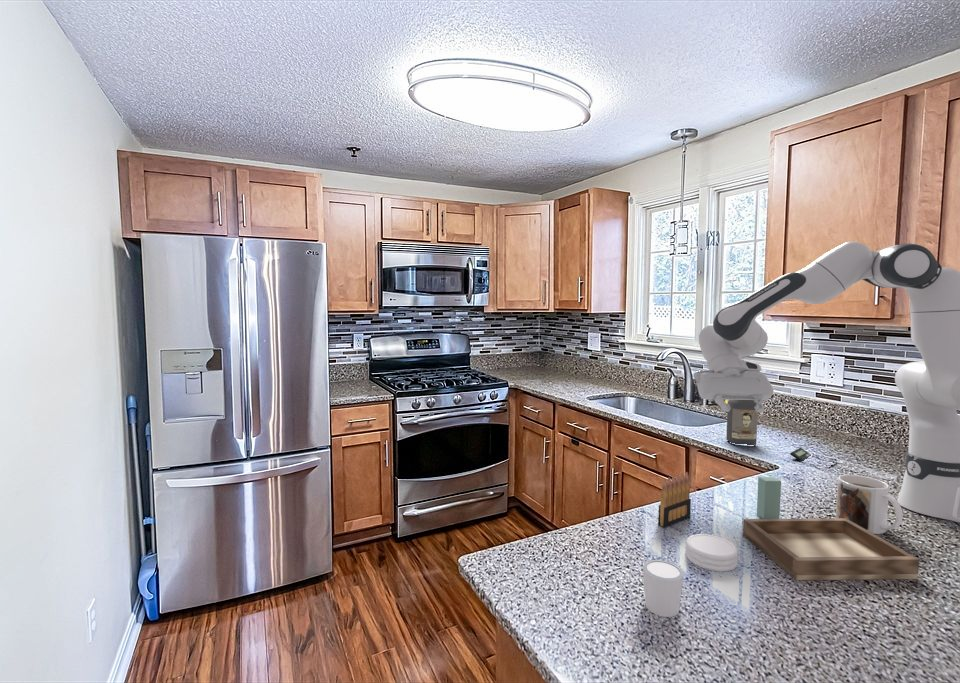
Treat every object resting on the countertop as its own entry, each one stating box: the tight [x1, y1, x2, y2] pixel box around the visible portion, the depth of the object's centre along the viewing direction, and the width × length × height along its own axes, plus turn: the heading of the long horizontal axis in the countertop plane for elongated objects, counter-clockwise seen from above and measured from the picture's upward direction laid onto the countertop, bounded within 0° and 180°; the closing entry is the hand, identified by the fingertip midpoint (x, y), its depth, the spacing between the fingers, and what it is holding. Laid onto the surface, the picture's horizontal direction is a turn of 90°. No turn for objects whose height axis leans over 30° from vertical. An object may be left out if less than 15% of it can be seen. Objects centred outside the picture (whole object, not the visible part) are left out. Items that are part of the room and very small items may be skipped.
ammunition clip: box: [657, 471, 692, 529], centre depth 119 cm, size 11×2×12 cm, turn 123°
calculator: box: [789, 447, 812, 462], centre depth 167 cm, size 9×12×3 cm
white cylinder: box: [642, 559, 685, 618], centre depth 85 cm, size 7×7×7 cm
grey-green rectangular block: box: [756, 476, 782, 519], centre depth 122 cm, size 4×3×10 cm
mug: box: [835, 474, 904, 535], centre depth 116 cm, size 10×12×11 cm
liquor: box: [725, 400, 759, 445], centre depth 188 cm, size 9×9×30 cm
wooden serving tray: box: [742, 517, 920, 581], centre depth 103 cm, size 24×18×4 cm
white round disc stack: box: [684, 533, 739, 573], centre depth 102 cm, size 10×10×4 cm
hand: (743, 410), depth 133 cm, fingers open, 8 cm apart
